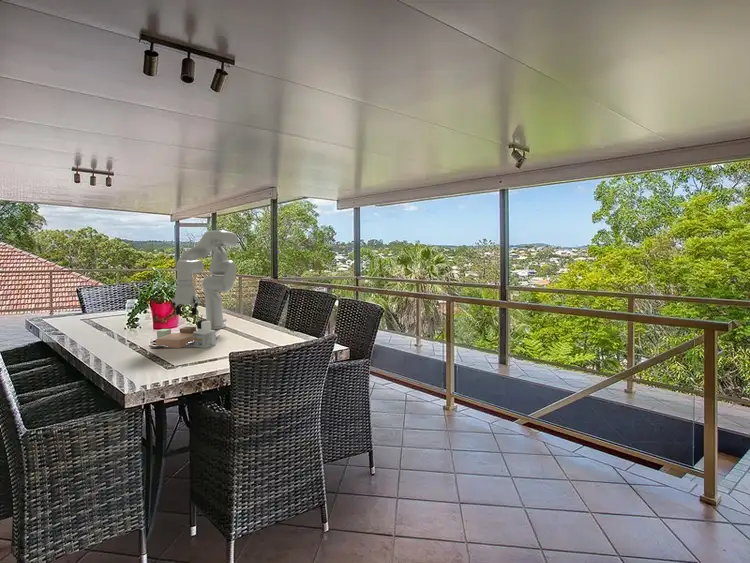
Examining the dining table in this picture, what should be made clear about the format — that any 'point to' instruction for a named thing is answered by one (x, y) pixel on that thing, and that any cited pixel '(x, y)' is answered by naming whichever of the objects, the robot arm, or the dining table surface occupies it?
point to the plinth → (175, 340)
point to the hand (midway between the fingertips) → (186, 314)
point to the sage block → (163, 332)
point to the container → (204, 335)
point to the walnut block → (188, 330)
